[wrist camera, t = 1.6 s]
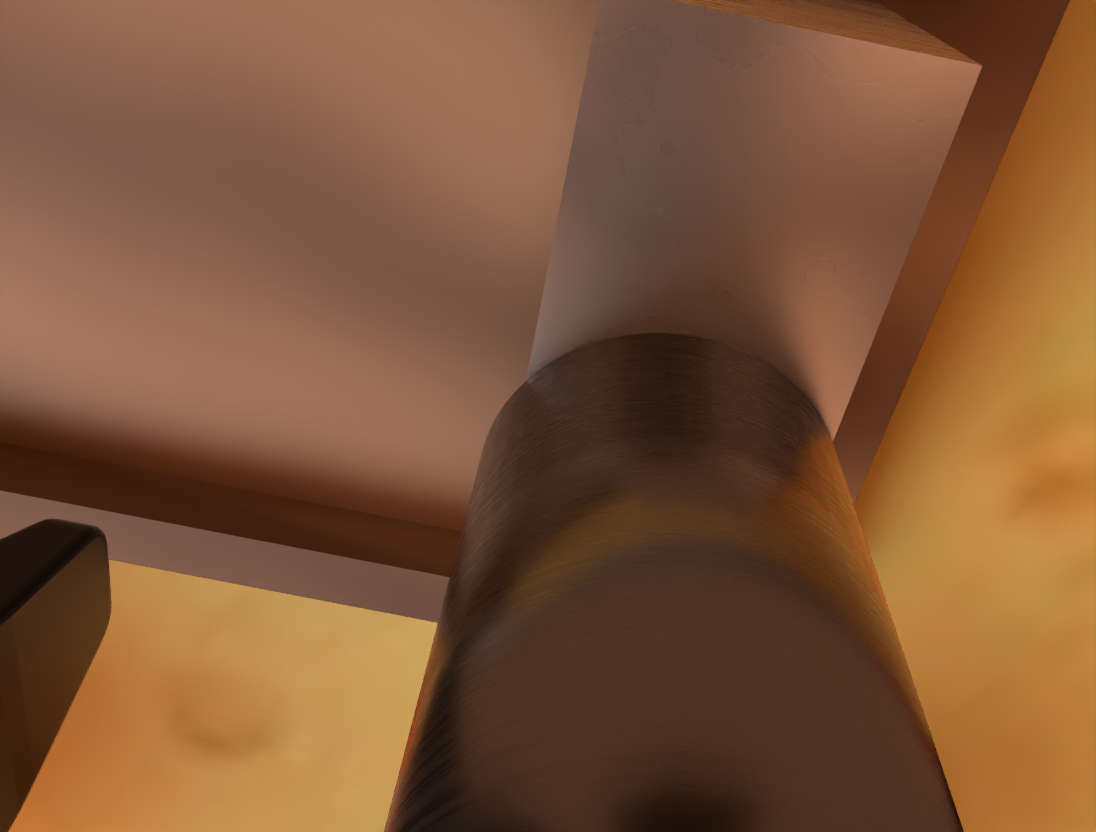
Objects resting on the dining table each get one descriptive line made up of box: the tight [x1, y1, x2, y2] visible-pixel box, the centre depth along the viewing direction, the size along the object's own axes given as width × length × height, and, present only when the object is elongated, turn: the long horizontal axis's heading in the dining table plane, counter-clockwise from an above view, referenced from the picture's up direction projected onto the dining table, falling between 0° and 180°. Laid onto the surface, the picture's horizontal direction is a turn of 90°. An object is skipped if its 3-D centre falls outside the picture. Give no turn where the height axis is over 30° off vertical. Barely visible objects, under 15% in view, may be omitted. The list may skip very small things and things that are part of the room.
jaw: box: [384, 0, 982, 832], centre depth 9 cm, size 9×4×9 cm, turn 170°
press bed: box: [0, 0, 1070, 623], centre depth 12 cm, size 12×24×6 cm, turn 80°
